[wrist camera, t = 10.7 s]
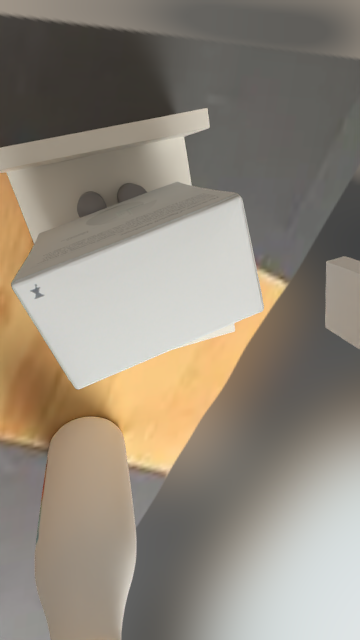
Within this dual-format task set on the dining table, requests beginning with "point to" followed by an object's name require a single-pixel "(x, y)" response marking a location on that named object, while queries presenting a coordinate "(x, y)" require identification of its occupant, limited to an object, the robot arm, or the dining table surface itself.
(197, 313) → the skincare box
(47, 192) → the peg frame
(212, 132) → the dining table surface
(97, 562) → the milk bottle
